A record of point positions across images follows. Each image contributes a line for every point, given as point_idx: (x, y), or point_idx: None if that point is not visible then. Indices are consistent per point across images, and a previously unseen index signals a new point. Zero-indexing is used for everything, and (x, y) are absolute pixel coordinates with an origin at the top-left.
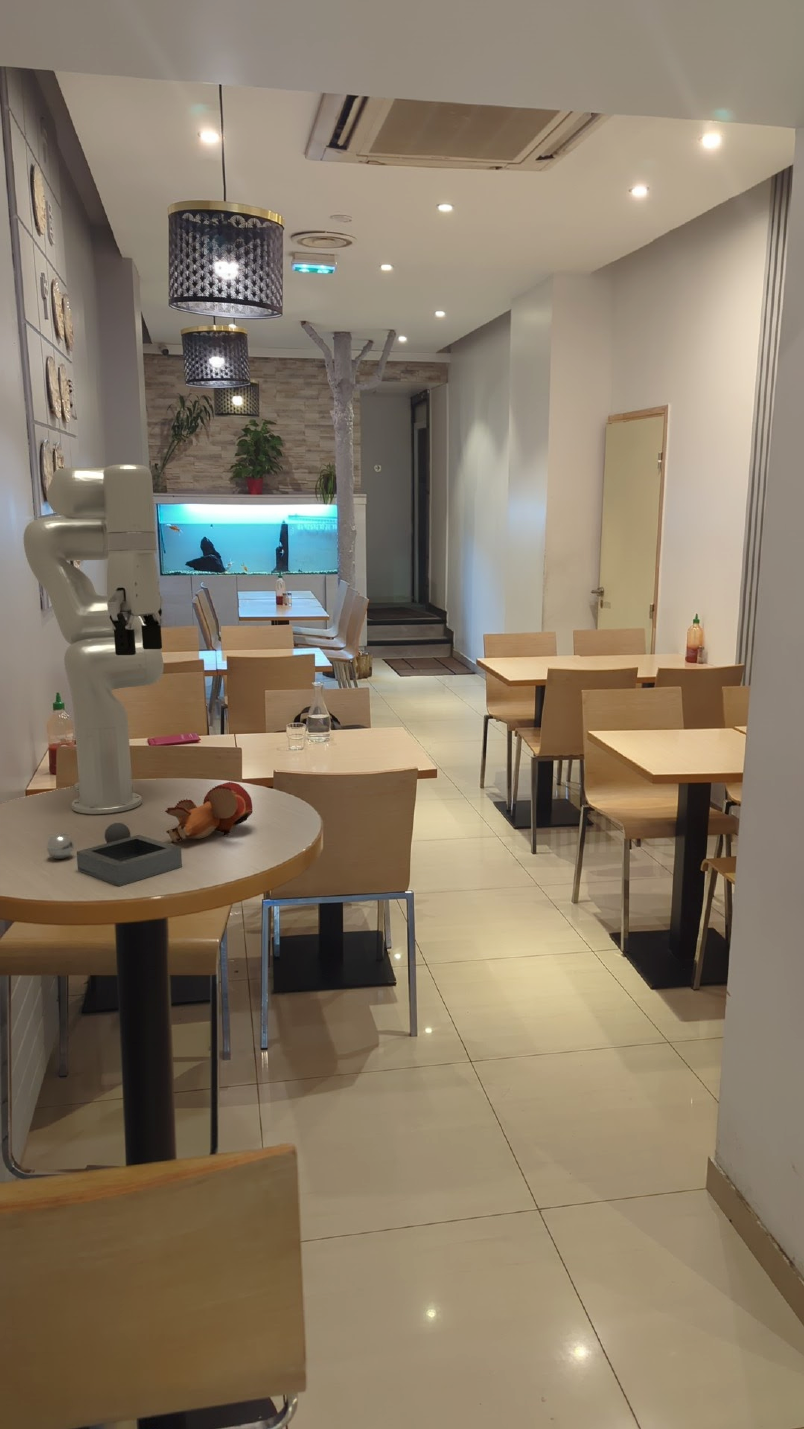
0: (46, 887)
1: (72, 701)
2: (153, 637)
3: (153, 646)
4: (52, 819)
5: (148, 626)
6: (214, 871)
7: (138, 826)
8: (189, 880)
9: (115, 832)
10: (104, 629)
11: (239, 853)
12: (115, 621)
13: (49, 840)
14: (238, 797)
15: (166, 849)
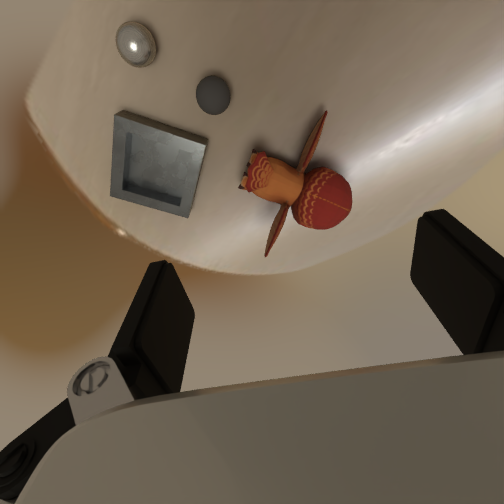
0: (67, 115)
1: None
2: (439, 293)
3: (418, 262)
4: None
5: (484, 321)
6: (195, 239)
7: (308, 49)
8: (166, 233)
9: (199, 105)
10: None
11: (247, 234)
12: (54, 433)
13: (117, 36)
14: (310, 227)
15: (177, 208)
